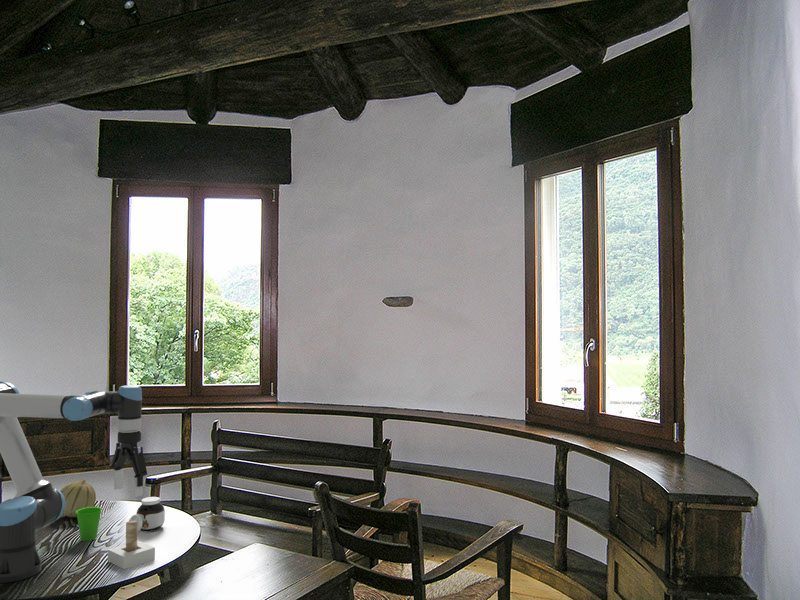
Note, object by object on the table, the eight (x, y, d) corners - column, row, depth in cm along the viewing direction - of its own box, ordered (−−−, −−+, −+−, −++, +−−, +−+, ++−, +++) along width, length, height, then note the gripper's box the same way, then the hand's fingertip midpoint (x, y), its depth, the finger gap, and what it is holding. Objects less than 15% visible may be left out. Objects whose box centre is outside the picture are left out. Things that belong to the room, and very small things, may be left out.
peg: (129, 563, 215) (129, 524, 215) (123, 560, 217) (124, 522, 217) (139, 560, 218) (139, 522, 218) (133, 557, 220) (133, 519, 220)
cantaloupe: (51, 516, 266) (52, 480, 266) (88, 508, 276) (89, 474, 276) (63, 524, 255) (63, 487, 255) (101, 516, 265) (101, 480, 266)
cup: (69, 541, 236) (70, 511, 236) (91, 534, 244) (91, 505, 244) (85, 545, 232) (85, 515, 232) (107, 537, 240) (107, 508, 240)
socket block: (124, 569, 210) (124, 557, 210) (107, 561, 217) (107, 549, 217) (154, 559, 218) (154, 547, 218) (138, 551, 225) (138, 540, 225)
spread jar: (167, 526, 253) (167, 496, 254) (153, 535, 242) (153, 505, 242) (138, 525, 254) (138, 495, 255) (123, 534, 243) (123, 504, 244)
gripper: (158, 433, 215) (157, 496, 214) (122, 425, 230) (121, 483, 230) (137, 436, 209) (136, 501, 208) (101, 427, 225) (100, 487, 224)
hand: (128, 492), depth 219 cm, fingers open, 13 cm apart
